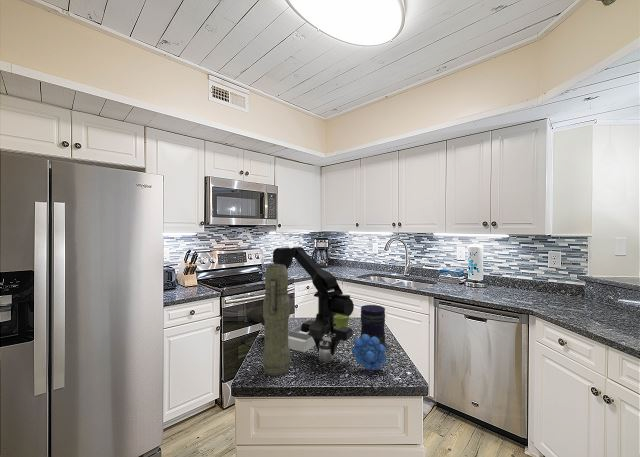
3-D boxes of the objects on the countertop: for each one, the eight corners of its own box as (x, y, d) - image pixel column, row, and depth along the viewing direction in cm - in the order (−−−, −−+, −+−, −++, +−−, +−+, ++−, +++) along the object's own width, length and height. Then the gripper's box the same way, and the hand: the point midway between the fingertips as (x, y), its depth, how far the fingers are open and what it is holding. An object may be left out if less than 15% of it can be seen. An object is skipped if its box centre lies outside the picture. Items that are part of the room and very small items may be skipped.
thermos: (290, 360, 102) (291, 262, 102) (288, 378, 90) (288, 266, 90) (265, 361, 101) (266, 262, 102) (260, 378, 90) (260, 267, 90)
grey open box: (284, 347, 113) (284, 332, 113) (303, 336, 124) (303, 323, 124) (304, 352, 108) (304, 336, 108) (321, 341, 120) (321, 326, 120)
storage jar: (365, 338, 123) (365, 303, 123) (388, 342, 118) (388, 306, 118) (356, 346, 114) (356, 309, 114) (380, 351, 109) (380, 312, 109)
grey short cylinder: (315, 360, 102) (315, 340, 102) (323, 354, 107) (323, 335, 107) (329, 364, 99) (329, 344, 99) (336, 358, 104) (336, 338, 104)
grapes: (352, 376, 91) (352, 338, 91) (351, 366, 98) (351, 331, 98) (389, 377, 90) (389, 339, 90) (385, 367, 97) (385, 331, 97)
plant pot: (353, 332, 130) (353, 313, 130) (344, 339, 122) (344, 319, 122) (335, 328, 135) (335, 310, 135) (325, 335, 127) (325, 315, 127)
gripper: (292, 312, 101) (291, 356, 101) (339, 320, 91) (339, 369, 91) (309, 304, 110) (309, 345, 110) (353, 311, 101) (353, 356, 101)
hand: (326, 353), depth 103 cm, fingers closed on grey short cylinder, 5 cm apart
